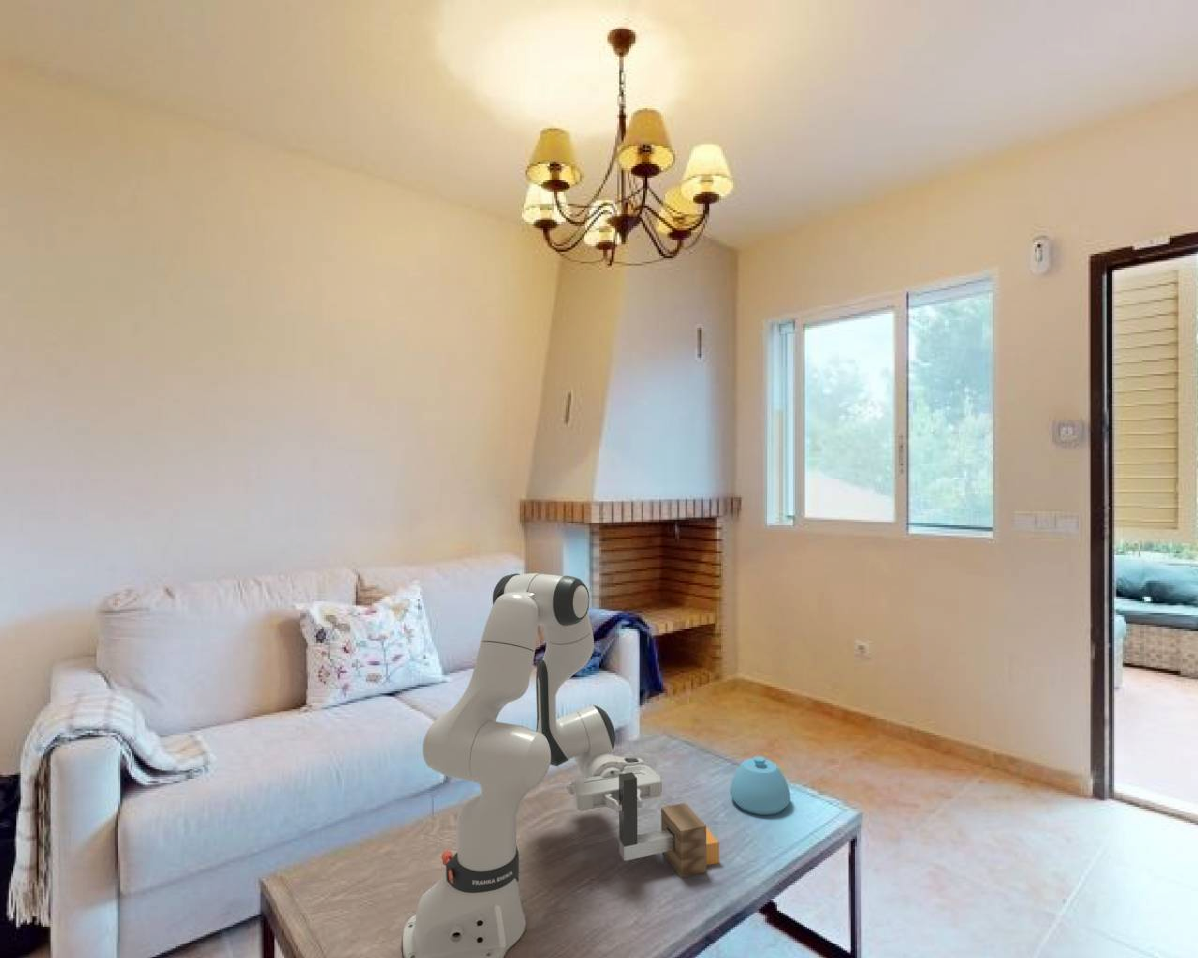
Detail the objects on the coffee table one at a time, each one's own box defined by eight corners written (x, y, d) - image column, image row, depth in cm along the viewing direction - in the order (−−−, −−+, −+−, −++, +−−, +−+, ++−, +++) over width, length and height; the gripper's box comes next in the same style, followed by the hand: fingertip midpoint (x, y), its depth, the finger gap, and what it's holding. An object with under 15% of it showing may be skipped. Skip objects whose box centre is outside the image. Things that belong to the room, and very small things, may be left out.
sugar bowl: (799, 799, 167) (799, 755, 167) (774, 824, 156) (774, 777, 155) (746, 782, 177) (746, 740, 177) (719, 804, 165) (719, 760, 165)
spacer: (702, 865, 140) (702, 844, 140) (690, 849, 146) (690, 829, 146) (719, 862, 141) (719, 841, 141) (707, 846, 147) (706, 826, 147)
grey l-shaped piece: (624, 860, 135) (623, 780, 135) (619, 852, 138) (618, 774, 138) (692, 845, 140) (692, 768, 140) (686, 838, 143) (685, 762, 143)
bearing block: (681, 877, 136) (680, 830, 135) (661, 851, 145) (661, 807, 145) (706, 871, 138) (706, 825, 137) (685, 846, 147) (685, 802, 147)
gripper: (564, 770, 146) (582, 800, 132) (647, 757, 152) (672, 783, 139) (564, 798, 146) (583, 830, 133) (647, 783, 152) (672, 812, 139)
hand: (629, 806), depth 136 cm, fingers closed on grey l-shaped piece, 3 cm apart
